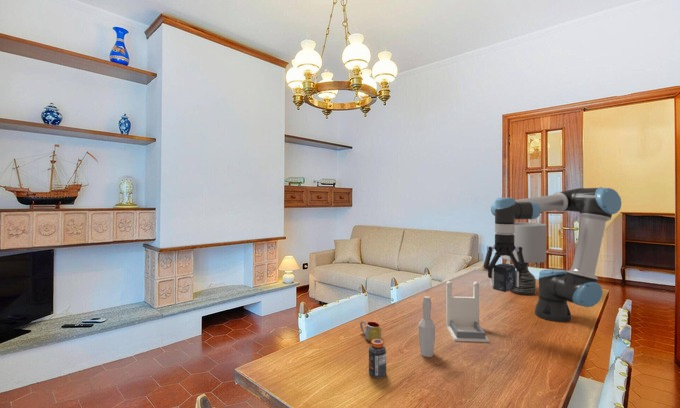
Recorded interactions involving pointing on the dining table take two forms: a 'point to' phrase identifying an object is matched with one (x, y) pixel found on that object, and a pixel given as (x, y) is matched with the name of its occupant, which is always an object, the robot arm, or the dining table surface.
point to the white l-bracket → (464, 316)
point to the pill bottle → (377, 359)
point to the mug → (371, 330)
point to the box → (504, 277)
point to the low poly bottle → (426, 329)
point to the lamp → (529, 253)
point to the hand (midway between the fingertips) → (504, 285)
